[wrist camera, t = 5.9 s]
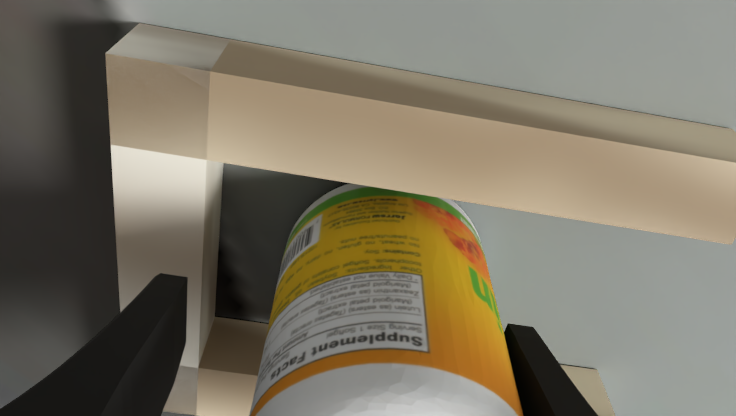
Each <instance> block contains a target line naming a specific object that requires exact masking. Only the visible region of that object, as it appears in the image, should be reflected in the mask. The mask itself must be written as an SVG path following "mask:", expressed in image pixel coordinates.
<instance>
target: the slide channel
mask: <svg viewBox="0 0 736 416" xmlns="http://www.w3.org/2000/svg"><path fill="white" fill-rule="evenodd" d="M105 55H106V73H107V90H108V108H109V125H110V143H111V160H112V178H113V195H114V212H115V230H116V247H117V265H118V282H119V300H120V312H121V311H122V310H123V309H124V308H125V307H126V306H127V305H128V304H129V303H130V302H131V301H132V300H133V299H134V298H135V297H136V296H137V295H138V294H139V293H140V292H141V291H142V290H143V289H144V288H145V287H146V286H147V285H148V283H149V282H150V281H151V280H152V279H153V278H154V277H155V276H156V275H158V274H159V273H163V274H170V275H177V276H183V277H188V284H187V325H186V344H185V348H184V351H183V355H182V358H181V362H180V365H179V369H178V372H177V375H176V379H175V382H174V385H173V387H172V390H171V392H170V395H169V397H168V399H167V402H166V404H165V406H164V409H163V411H166V412H174V413H182V414H190V415H198V416H249V415H250V410H251V406H252V402H253V397H254V392H255V387H256V383H257V378H258V373H259V369H260V364H261V359H262V355H263V350H264V345H265V340H266V336H267V331H268V325H269V324H264V323H257V322H250V321H242V320H235V319H228V318H221V317H215V302H216V285H217V267H218V250H219V233H220V215H221V198H222V180H223V163H228V164H234V165H240V166H246V167H253V168H259V169H265V170H271V171H278V172H284V173H290V174H296V175H302V176H309V177H315V178H321V179H327V180H333V181H340V182H346V183H352V184H358V185H364V186H371V187H377V188H383V189H389V190H395V191H402V192H408V193H414V194H420V195H426V196H433V197H439V198H445V199H451V200H457V201H464V202H470V203H476V204H482V205H489V206H495V207H501V208H507V209H513V210H520V211H526V212H532V213H538V214H544V215H551V216H557V217H563V218H569V219H575V220H582V221H588V222H594V223H600V224H606V225H613V226H619V227H625V228H631V229H637V230H644V231H650V232H656V233H662V234H668V235H675V236H681V237H687V238H693V239H700V240H706V241H712V242H718V243H724V244H732V243H733V241H734V239H735V238H736V132H735V131H734V130H733V129H729V128H723V127H718V126H712V125H706V124H701V123H695V122H690V121H684V120H678V119H673V118H667V117H662V116H656V115H651V114H645V113H639V112H634V111H628V110H623V109H617V108H611V107H606V106H600V105H595V104H589V103H584V102H578V101H572V100H567V99H561V98H556V97H550V96H544V95H539V94H533V93H528V92H522V91H516V90H511V89H505V88H500V87H494V86H489V85H483V84H477V83H472V82H466V81H461V80H455V79H449V78H444V77H438V76H433V75H427V74H421V73H416V72H410V71H405V70H399V69H394V68H388V67H382V66H377V65H371V64H366V63H360V62H354V61H349V60H343V59H338V58H332V57H327V56H321V55H315V54H310V53H304V52H299V51H293V50H287V49H282V48H276V47H271V46H265V45H259V44H254V43H248V42H243V41H237V40H232V39H226V38H220V37H215V36H209V35H204V34H198V33H192V32H187V31H181V30H176V29H170V28H165V27H159V26H153V25H148V24H142V23H139V24H138V25H137V26H135V27H134V28H133V29H132V30H131V31H130V32H129V33H128V34H126V35H125V36H124V37H123V38H122V39H121V40H120V41H119V42H117V43H116V44H115V45H114V46H113V47H112V48H111V49H110V50H108V51H107V52H106V53H105ZM560 366H561V367H562V368H563V370H564V371H565V373H566V374H567V375H568V377H569V378H570V379H571V381H572V382H573V383H574V385H575V386H576V387H577V389H578V390H579V391H580V393H581V394H582V395H583V397H584V398H585V399H586V401H587V402H588V403H589V405H590V406H591V407H592V408H593V410H594V411H595V412H596V413H597V415H598V416H615V413H614V411H613V408H612V406H611V403H610V401H609V398H608V396H607V393H606V391H605V388H604V386H603V383H602V381H601V378H600V376H599V373H598V370H595V369H588V368H581V367H574V366H566V365H560Z"/></svg>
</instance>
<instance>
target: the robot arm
mask: <svg viewBox="0 0 736 416" xmlns="http://www.w3.org/2000/svg"><path fill="white" fill-rule="evenodd" d="M187 284H188V277H183V276H177V275H170V274H163V273H159V274H158V275H156V276H155V277H154V278H153V279H152V280H151V281H150V282H149V283H148V285H147V286H146V287H145V288H144V289H143V290H142V291H141V292H140V293H139V294H138V295H137V296H136V297H135V298H134V299H133V300H132V301H131V302H130V303H129V304H128V305H127V306H126V307H125V308H124V309H123V310H122V311H121V312H120V313H119V314H118V315H117V316H116V317H115V318H114V319H113V320H112V321H111V322H110V323H109V324H108V325H107V326H106V327H105V328H104V329H102V330H101V331H100V332H99V333H98V334H97V335H96V336H95V337H94V338H93V339H92V340H90V341H89V342H88V343H87V344H86V345H85V346H83V347H82V348H81V349H80V350H79V351H77V352H76V353H75V354H74V355H73V356H72V357H70V358H69V359H68V360H67V361H66V362H64V363H63V364H62V365H61V366H60V367H58V368H57V369H56V370H54V371H53V372H52V373H51V374H49V375H48V376H47V377H45V378H44V379H43V380H41V381H40V382H39V383H37V384H36V385H34V386H33V387H32V388H30V389H29V390H28V391H26V392H25V393H23V394H22V395H21V396H19V397H18V398H16V399H15V400H13V401H12V402H10V403H9V404H7V405H5V406H4V407H2V408H1V409H0V416H161V414H162V411H163V409H164V406H165V404H166V402H167V399H168V397H169V395H170V392H171V390H172V387H173V385H174V382H175V379H176V375H177V372H178V369H179V365H180V362H181V358H182V355H183V351H184V348H185V344H186V325H187ZM504 335H505V340H506V344H507V348H508V353H509V357H510V361H511V366H512V370H513V374H514V378H515V382H516V387H517V391H518V395H519V399H520V403H521V407H522V411H523V415H524V416H598V415H597V413H596V412H595V411H594V410H593V408H592V407H591V406H590V405H589V403H588V402H587V401H586V399H585V398H584V397H583V395H582V394H581V393H580V391H579V390H578V389H577V387H576V386H575V385H574V383H573V382H572V381H571V379H570V378H569V377H568V375H567V374H566V373H565V371H564V370H563V368H562V367H561V366H560V364H559V363H558V361H557V360H556V359H555V357H554V356H553V354H552V353H551V351H550V350H549V349H548V347H547V346H546V344H545V343H544V342H543V340H542V339H541V337H540V336H539V334H538V333H537V332H536V330H535V329H534V328H533V327H528V326H522V325H515V324H508V325H507V327H506V329H505V332H504Z"/></svg>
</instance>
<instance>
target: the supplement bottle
mask: <svg viewBox="0 0 736 416" xmlns="http://www.w3.org/2000/svg"><path fill="white" fill-rule="evenodd" d="M249 416H524V415H523V411H522V407H521V403H520V399H519V395H518V391H517V387H516V382H515V378H514V374H513V370H512V366H511V361H510V357H509V353H508V348H507V344H506V340H505V335H504V331H503V328H502V324H501V321H500V316H499V312H498V308H497V304H496V300H495V296H494V292H493V288H492V284H491V280H490V276H489V272H488V267H487V263H486V259H485V255H484V252H483V248H482V245H481V241H480V238H479V235H478V233H477V231H476V229H475V227H474V225H473V223H472V221H471V220H470V219H469V217H468V216H467V215H466V213H465V212H464V211H463V210H462V209H461V208H460V207H459V206H458V205H457V204H456V203H455V202H454V201H452V200H451V199H445V198H439V197H433V196H426V195H420V194H414V193H408V192H402V191H395V190H389V189H383V188H377V187H371V186H364V185H358V184H352V183H349V184H346V185H343V186H341V187H338V188H336V189H334V190H332V191H330V192H328V193H327V194H325V195H323V196H322V197H321V198H319V199H318V200H316V201H315V202H314V203H313V204H312V205H311V206H309V207H308V208H307V209H306V210H305V211H304V213H303V214H302V215H301V216H300V218H299V219H298V220H297V222H296V223H295V225H294V227H293V229H292V231H291V233H290V236H289V238H288V241H287V244H286V248H285V251H284V255H283V259H282V263H281V268H280V273H279V277H278V281H277V286H276V292H275V297H274V301H273V307H272V312H271V316H270V321H269V325H268V331H267V336H266V340H265V345H264V350H263V355H262V359H261V364H260V369H259V373H258V378H257V383H256V387H255V392H254V397H253V402H252V406H251V410H250V415H249Z"/></svg>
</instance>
